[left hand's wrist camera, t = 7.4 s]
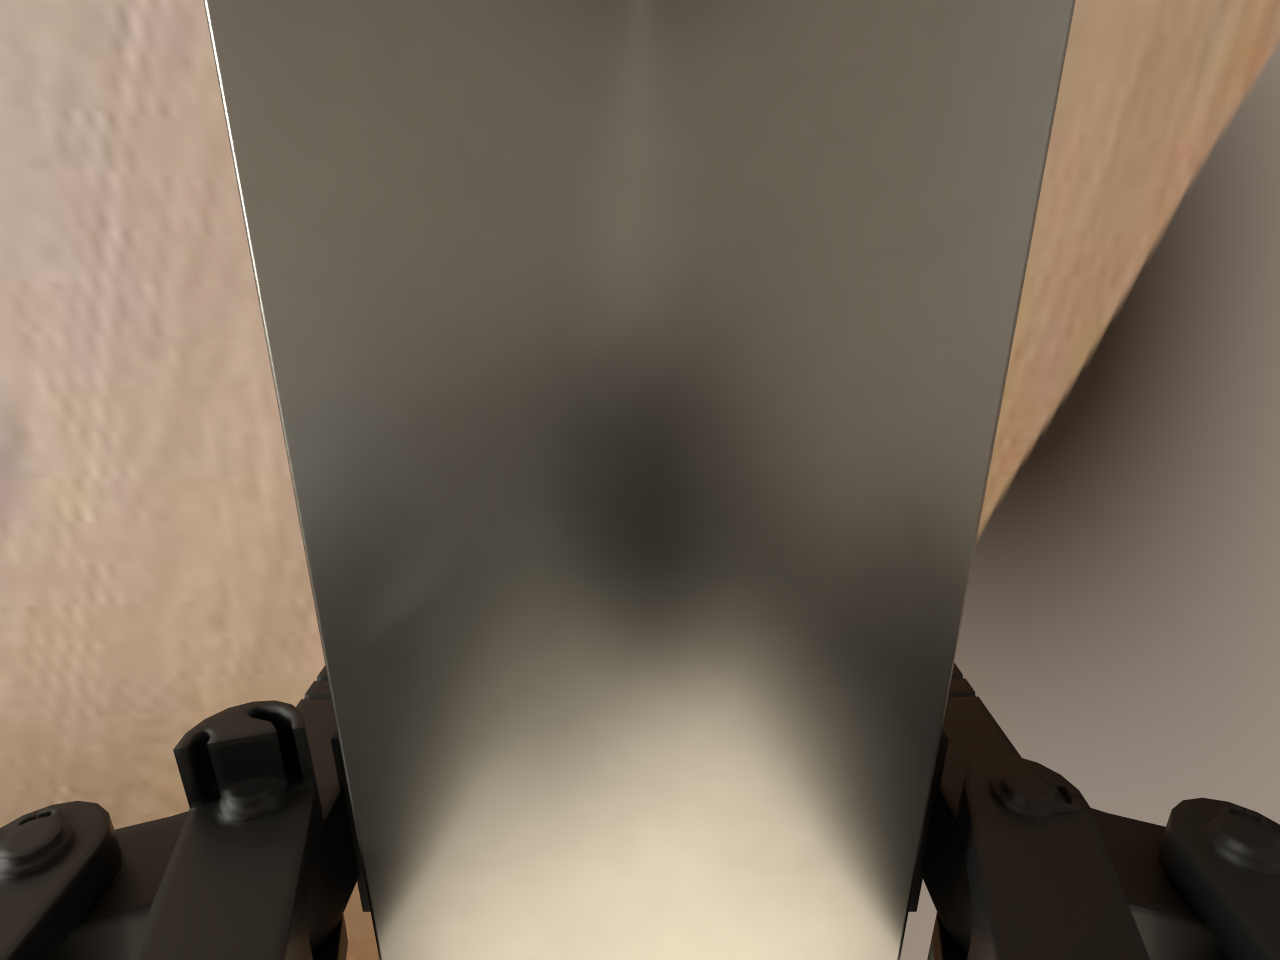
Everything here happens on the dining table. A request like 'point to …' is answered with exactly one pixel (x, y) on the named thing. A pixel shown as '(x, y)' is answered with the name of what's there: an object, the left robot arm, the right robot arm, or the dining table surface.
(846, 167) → the bar
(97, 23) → the dining table surface
